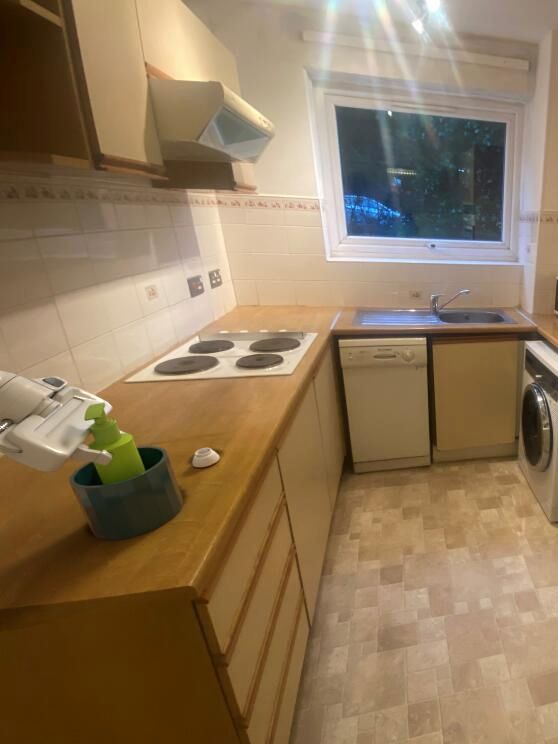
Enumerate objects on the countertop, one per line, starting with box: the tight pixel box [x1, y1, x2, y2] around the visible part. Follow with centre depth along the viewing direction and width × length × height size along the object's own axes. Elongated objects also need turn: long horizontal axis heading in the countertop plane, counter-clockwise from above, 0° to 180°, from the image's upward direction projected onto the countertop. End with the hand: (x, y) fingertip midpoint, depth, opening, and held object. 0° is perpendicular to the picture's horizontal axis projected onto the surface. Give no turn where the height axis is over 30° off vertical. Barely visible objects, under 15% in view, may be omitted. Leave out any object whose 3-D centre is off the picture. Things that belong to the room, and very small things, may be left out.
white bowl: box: [191, 447, 220, 468], centre depth 97 cm, size 5×3×5 cm
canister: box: [68, 445, 184, 542], centre depth 79 cm, size 13×13×11 cm
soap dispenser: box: [84, 403, 145, 485], centre depth 75 cm, size 6×7×20 cm
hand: (118, 449), depth 76 cm, fingers closed on soap dispenser, 6 cm apart
